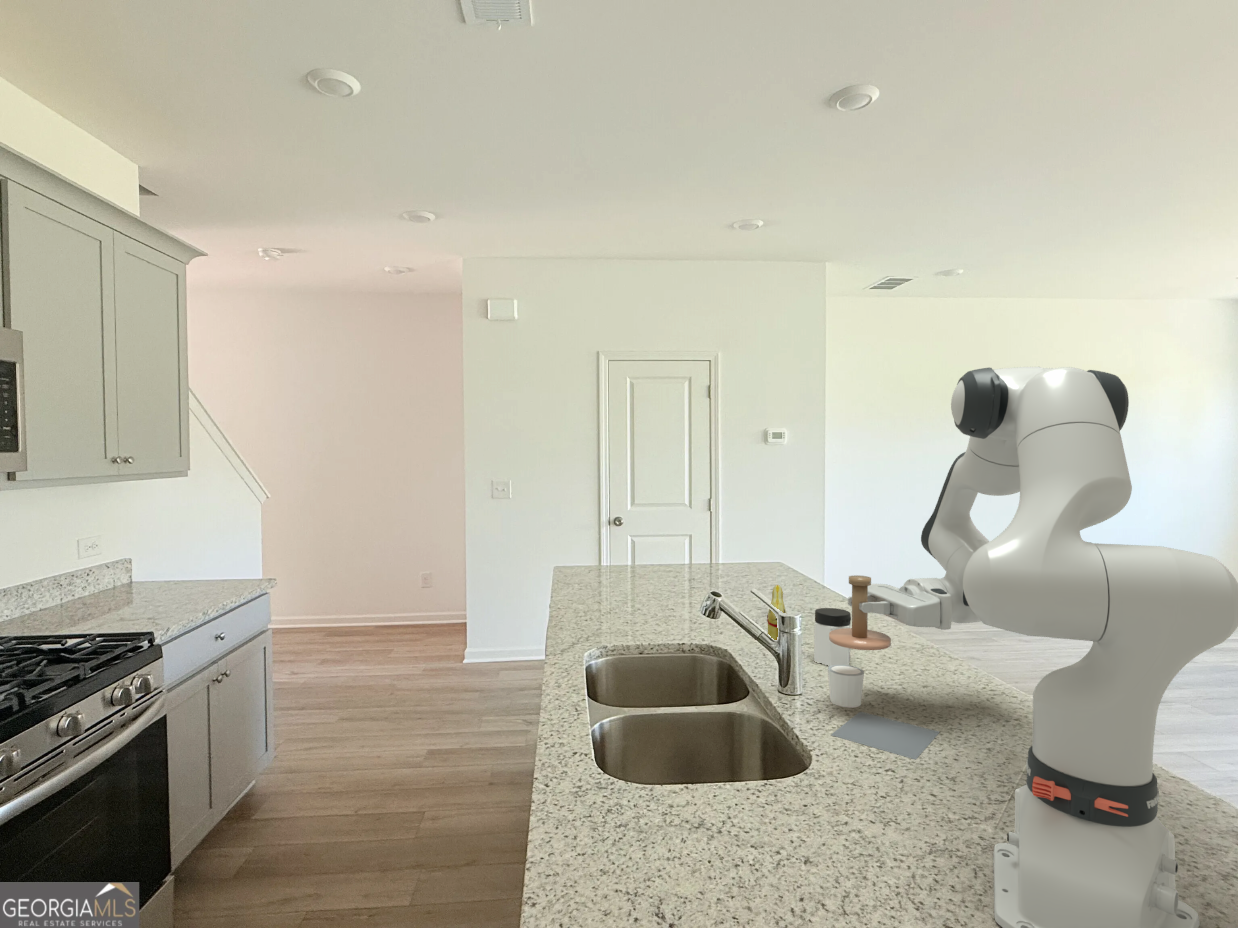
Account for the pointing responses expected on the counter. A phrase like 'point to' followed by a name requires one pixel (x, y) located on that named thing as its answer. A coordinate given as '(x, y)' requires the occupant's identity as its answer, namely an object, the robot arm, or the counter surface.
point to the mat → (886, 734)
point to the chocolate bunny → (772, 620)
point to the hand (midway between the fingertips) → (855, 604)
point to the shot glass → (845, 685)
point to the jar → (822, 645)
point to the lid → (859, 622)
